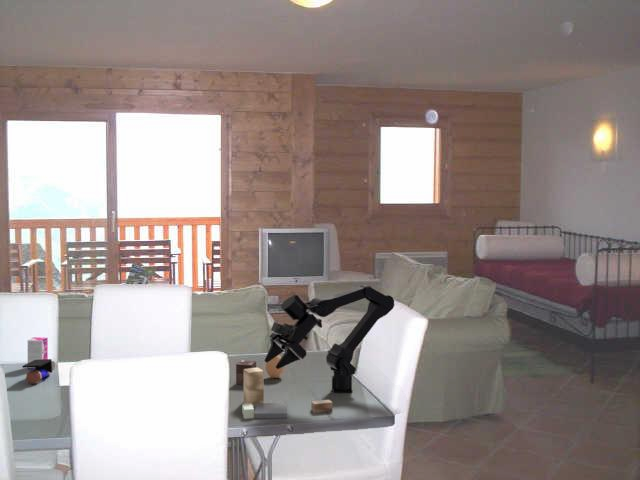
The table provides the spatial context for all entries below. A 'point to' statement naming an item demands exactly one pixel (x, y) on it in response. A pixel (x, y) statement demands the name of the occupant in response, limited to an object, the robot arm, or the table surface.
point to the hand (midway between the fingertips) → (270, 364)
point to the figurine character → (39, 370)
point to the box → (240, 370)
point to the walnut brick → (321, 406)
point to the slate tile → (270, 410)
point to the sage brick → (248, 410)
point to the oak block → (253, 386)
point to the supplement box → (37, 349)
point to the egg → (274, 367)
